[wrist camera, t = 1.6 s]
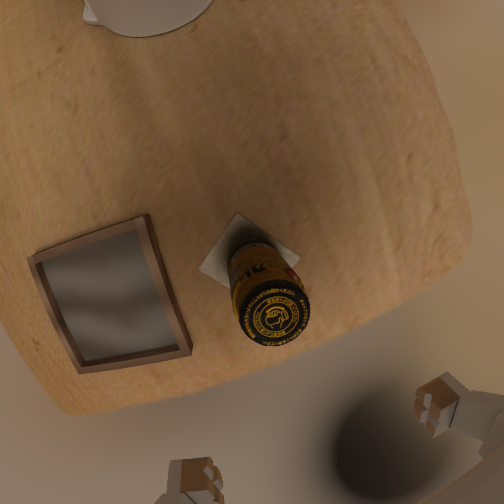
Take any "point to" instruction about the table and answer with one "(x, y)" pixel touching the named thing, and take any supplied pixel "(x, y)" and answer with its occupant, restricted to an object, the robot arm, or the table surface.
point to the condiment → (259, 283)
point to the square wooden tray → (111, 298)
